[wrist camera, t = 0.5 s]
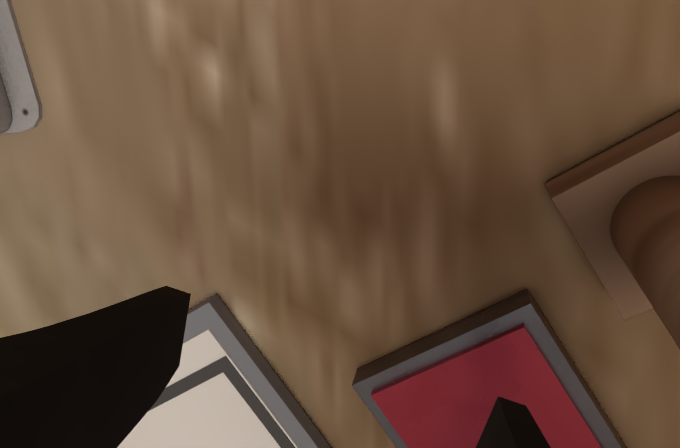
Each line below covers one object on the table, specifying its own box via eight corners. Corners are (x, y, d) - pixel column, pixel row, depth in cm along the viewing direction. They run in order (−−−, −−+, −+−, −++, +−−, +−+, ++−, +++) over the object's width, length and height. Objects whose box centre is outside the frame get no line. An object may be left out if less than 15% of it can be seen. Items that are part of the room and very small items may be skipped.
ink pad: (648, 481, 23) (659, 510, 22) (475, 535, 26) (475, 564, 25) (527, 288, 22) (531, 307, 20) (357, 369, 25) (350, 389, 23)
